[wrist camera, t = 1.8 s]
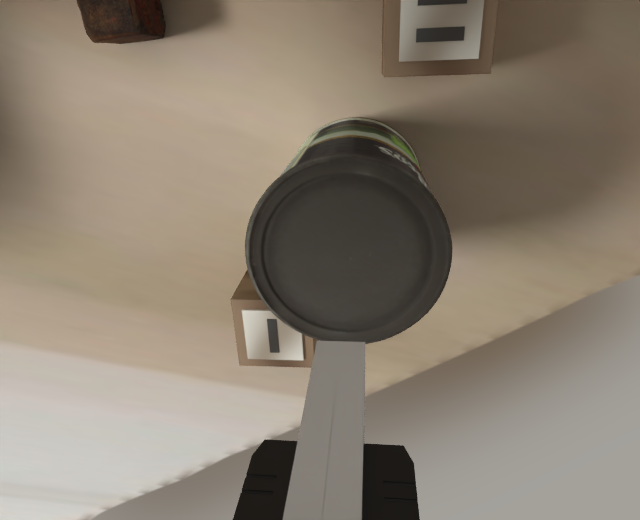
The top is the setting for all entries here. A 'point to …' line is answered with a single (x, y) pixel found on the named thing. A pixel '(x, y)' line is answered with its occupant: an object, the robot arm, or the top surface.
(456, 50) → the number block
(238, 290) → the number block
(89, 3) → the brick
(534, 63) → the top surface
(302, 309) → the coffee can
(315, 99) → the top surface
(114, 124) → the top surface
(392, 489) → the robot arm
